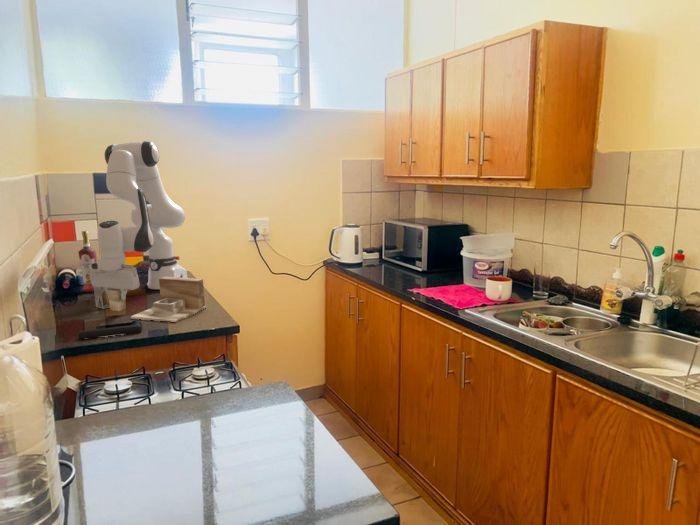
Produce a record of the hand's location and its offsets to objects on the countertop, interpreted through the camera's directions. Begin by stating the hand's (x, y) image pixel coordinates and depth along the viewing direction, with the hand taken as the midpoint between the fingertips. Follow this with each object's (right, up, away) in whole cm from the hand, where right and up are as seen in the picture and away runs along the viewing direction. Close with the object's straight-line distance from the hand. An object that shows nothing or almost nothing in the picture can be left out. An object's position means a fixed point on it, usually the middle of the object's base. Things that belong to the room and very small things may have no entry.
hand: (117, 298), depth 205 cm
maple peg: (0, -4, +1) cm, 4 cm away
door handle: (+6, -11, -17) cm, 21 cm away
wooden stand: (+20, -6, +3) cm, 21 cm away
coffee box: (-10, -4, +16) cm, 19 cm away
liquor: (-30, +1, +41) cm, 50 cm away
